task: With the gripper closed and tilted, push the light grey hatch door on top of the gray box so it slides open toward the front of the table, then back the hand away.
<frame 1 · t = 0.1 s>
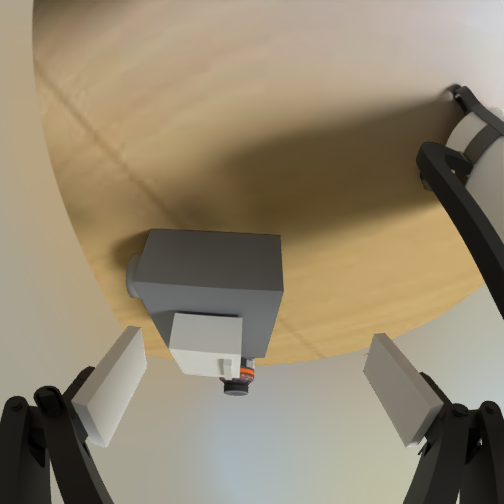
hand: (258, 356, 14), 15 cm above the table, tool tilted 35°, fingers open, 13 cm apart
gray box: (217, 281, 35), on the table
supplement bottle: (238, 332, 48), on the table
hatch door: (209, 352, 29), point 10 cm above the table, slide at 0.0 cm
coffee press: (463, 147, 19), on the table
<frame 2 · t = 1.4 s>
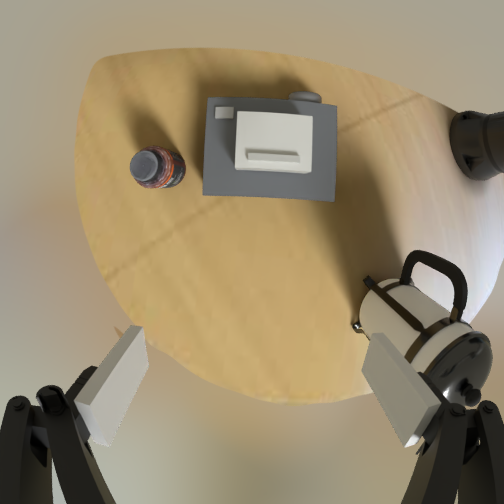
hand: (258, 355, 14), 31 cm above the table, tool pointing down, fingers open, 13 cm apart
gray box: (268, 152, 41), on the table
supplement bottle: (169, 170, 42), on the table
hatch door: (273, 142, 32), point 10 cm above the table, slide at 0.0 cm
coffee press: (382, 297, 47), on the table
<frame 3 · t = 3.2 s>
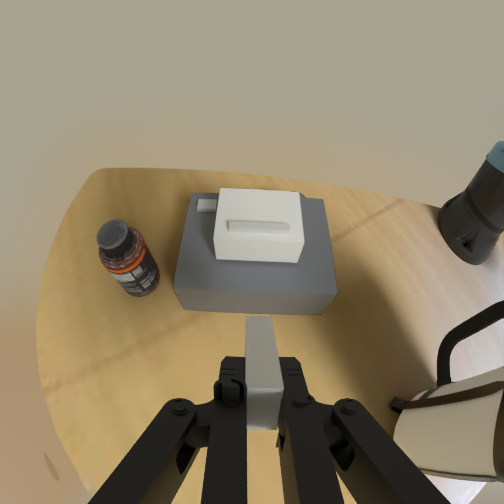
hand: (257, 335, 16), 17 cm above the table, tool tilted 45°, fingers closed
gray box: (254, 266, 38), on the table
supplement bottle: (141, 279, 37), on the table
hatch door: (258, 222, 30), point 10 cm above the table, slide at 0.0 cm
coffee press: (416, 422, 26), on the table
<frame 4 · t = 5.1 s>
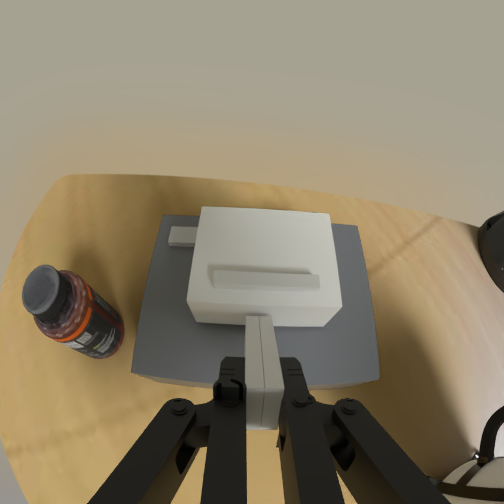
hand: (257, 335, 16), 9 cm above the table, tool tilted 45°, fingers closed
gray box: (255, 320, 26), on the table
supplement bottle: (102, 333, 25), on the table
hatch door: (264, 265, 18), point 10 cm above the table, slide at 0.7 cm, touching gripper
coffee press: (445, 494, 14), on the table
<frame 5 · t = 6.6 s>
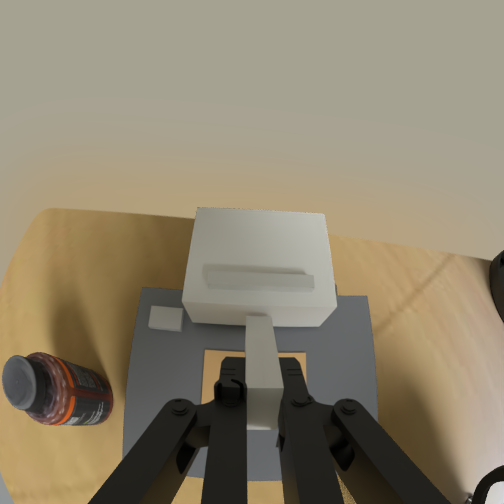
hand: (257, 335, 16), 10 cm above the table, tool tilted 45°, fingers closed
gray box: (250, 392, 23), on the table
supplement bottle: (91, 398, 21), on the table
hatch door: (259, 265, 18), point 10 cm above the table, slide at 7.8 cm, touching gripper
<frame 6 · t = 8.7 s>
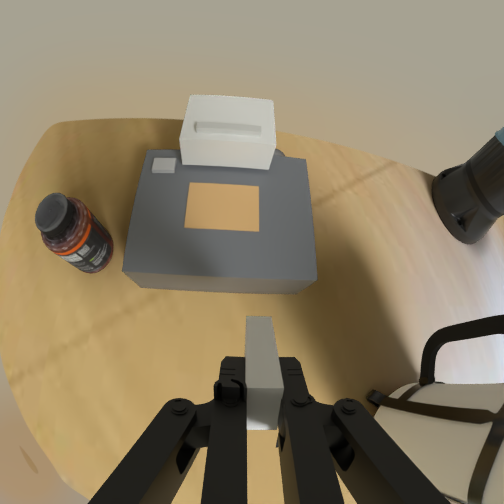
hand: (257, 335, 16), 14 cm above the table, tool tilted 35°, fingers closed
gray box: (220, 234, 33), on the table
supplement bottle: (94, 252, 30), on the table
hatch door: (228, 127, 26), point 10 cm above the table, slide at 8.0 cm
coffee press: (393, 414, 28), on the table
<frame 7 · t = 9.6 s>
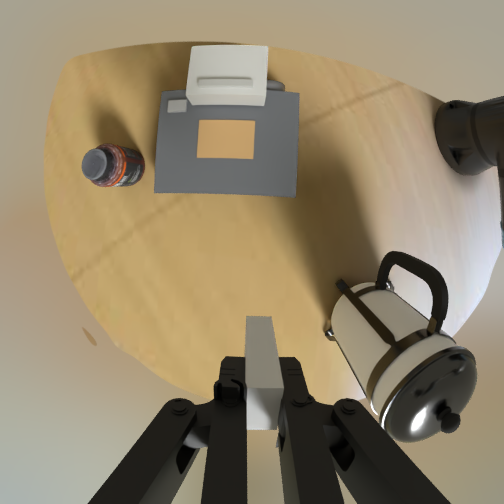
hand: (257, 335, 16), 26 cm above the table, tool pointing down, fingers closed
gray box: (229, 147, 39), on the table
supplement bottle: (130, 168, 39), on the table
hatch door: (228, 73, 27), point 10 cm above the table, slide at 8.0 cm
coffee press: (358, 302, 45), on the table
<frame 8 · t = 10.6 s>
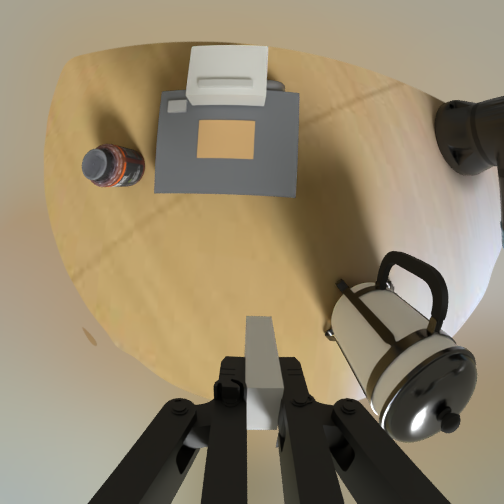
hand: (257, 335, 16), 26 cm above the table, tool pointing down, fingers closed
gray box: (229, 147, 39), on the table
supplement bottle: (130, 168, 39), on the table
hatch door: (228, 73, 27), point 10 cm above the table, slide at 8.0 cm
coffee press: (358, 302, 45), on the table
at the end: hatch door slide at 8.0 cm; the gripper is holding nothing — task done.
